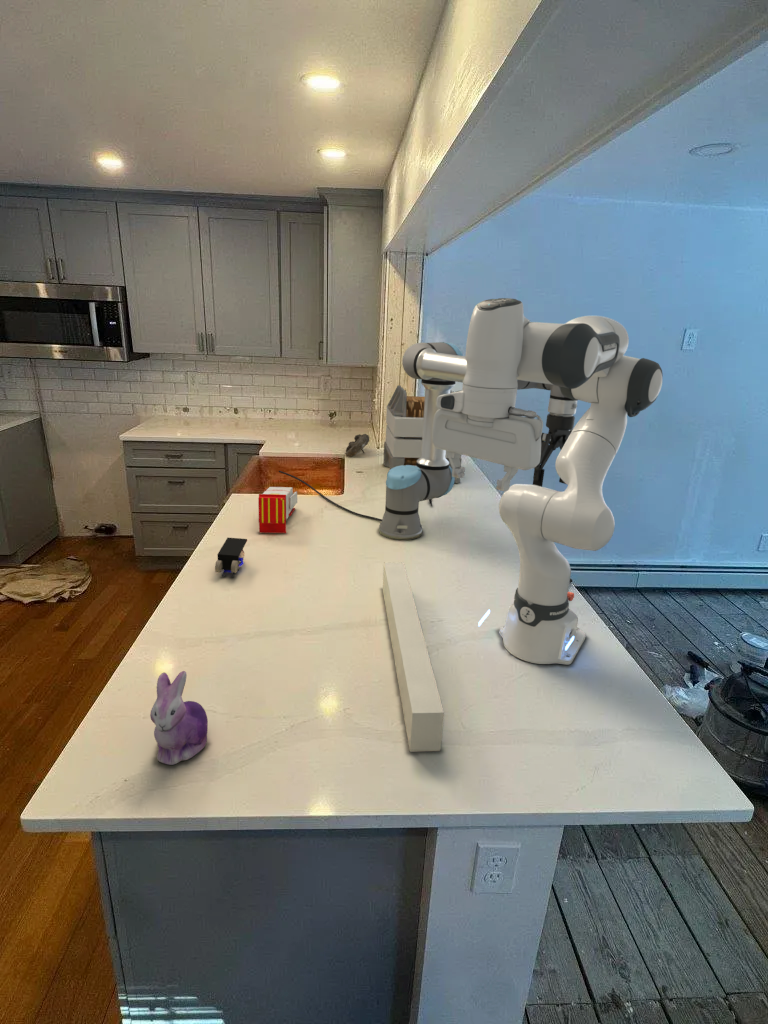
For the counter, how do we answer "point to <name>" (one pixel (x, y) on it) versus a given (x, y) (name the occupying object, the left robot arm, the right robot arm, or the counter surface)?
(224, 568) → the black wheeled rover
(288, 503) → the toy
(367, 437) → the fossil
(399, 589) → the post
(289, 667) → the counter surface
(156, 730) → the figurine
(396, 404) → the transformer
